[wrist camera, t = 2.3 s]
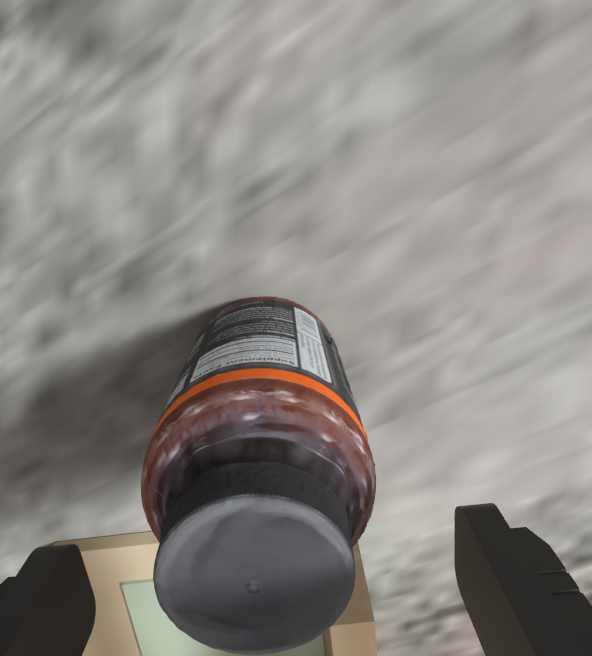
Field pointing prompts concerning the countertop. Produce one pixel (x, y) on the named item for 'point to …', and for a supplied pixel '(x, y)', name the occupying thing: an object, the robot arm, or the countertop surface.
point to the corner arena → (160, 633)
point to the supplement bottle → (258, 482)
